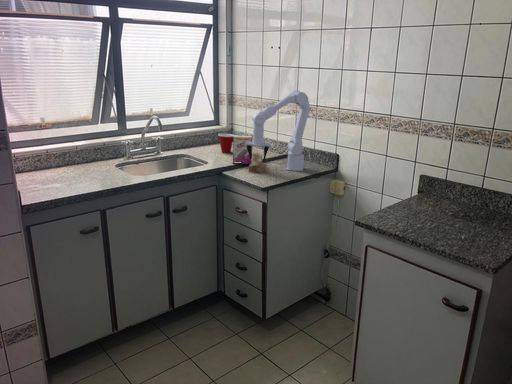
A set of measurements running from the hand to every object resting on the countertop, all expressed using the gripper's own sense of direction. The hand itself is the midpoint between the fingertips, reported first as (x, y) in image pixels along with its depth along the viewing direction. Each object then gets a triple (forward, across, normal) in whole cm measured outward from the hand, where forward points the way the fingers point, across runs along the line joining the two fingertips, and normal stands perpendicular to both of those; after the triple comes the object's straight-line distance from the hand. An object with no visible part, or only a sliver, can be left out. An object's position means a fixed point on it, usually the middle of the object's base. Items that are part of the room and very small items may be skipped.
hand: (257, 159), depth 234 cm
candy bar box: (+7, -11, +13) cm, 18 cm away
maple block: (+3, 0, 0) cm, 3 cm away
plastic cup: (+7, -26, +36) cm, 45 cm away
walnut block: (+7, 0, 0) cm, 7 cm away
